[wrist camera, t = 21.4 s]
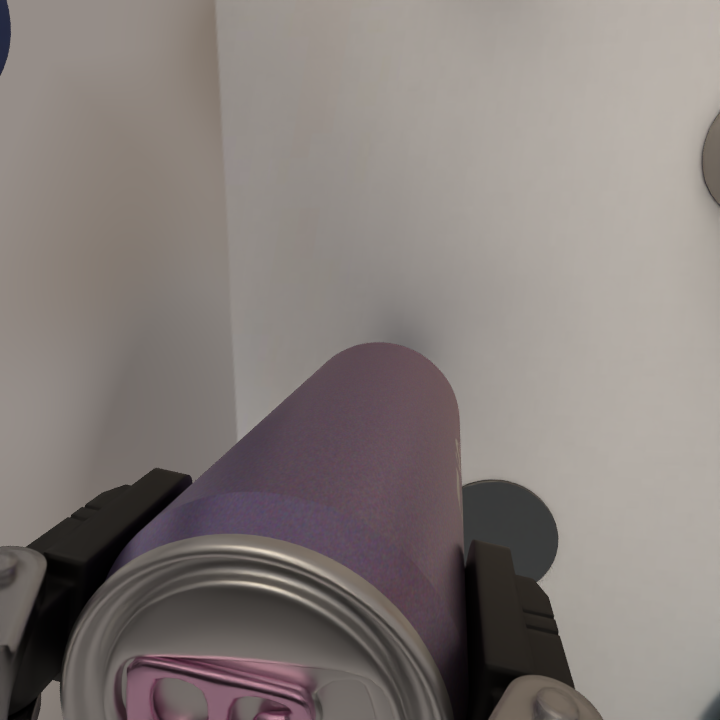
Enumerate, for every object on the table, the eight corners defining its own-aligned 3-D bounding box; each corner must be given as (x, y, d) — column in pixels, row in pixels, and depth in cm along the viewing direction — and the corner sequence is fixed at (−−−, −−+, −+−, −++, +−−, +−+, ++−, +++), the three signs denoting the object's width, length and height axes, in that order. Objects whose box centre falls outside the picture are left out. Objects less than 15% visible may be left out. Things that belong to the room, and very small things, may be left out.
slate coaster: (420, 576, 42) (420, 579, 42) (445, 467, 40) (445, 469, 40) (540, 605, 42) (541, 608, 41) (571, 495, 40) (572, 497, 39)
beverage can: (315, 329, 22) (42, 493, 7) (470, 350, 21) (507, 581, 6) (302, 471, 23) (45, 852, 9) (447, 497, 22) (435, 964, 8)
